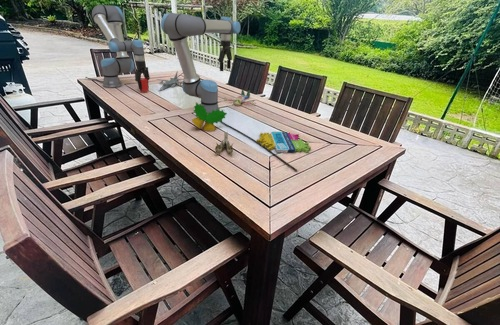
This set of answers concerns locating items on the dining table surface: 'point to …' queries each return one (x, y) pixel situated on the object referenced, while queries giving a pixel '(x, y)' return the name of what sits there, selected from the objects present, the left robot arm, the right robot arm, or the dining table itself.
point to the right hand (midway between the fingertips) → (225, 69)
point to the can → (144, 84)
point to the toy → (241, 99)
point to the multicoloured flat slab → (283, 142)
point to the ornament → (207, 117)
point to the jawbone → (224, 145)
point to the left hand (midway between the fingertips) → (143, 88)
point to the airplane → (170, 82)
